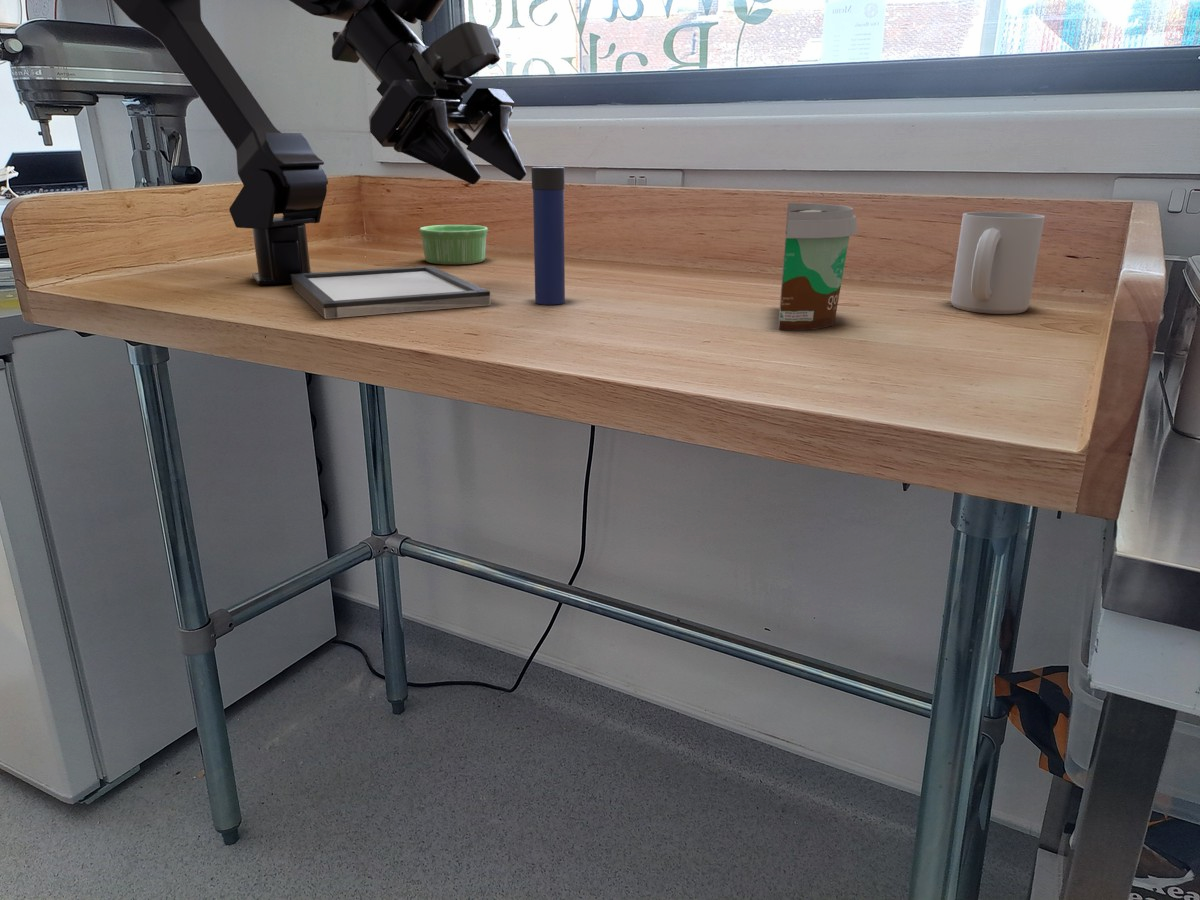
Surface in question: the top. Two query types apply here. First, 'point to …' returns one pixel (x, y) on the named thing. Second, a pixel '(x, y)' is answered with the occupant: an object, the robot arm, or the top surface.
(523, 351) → the top surface
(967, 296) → the cup
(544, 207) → the marker
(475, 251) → the ramekin
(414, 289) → the whiteboard
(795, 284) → the food container
